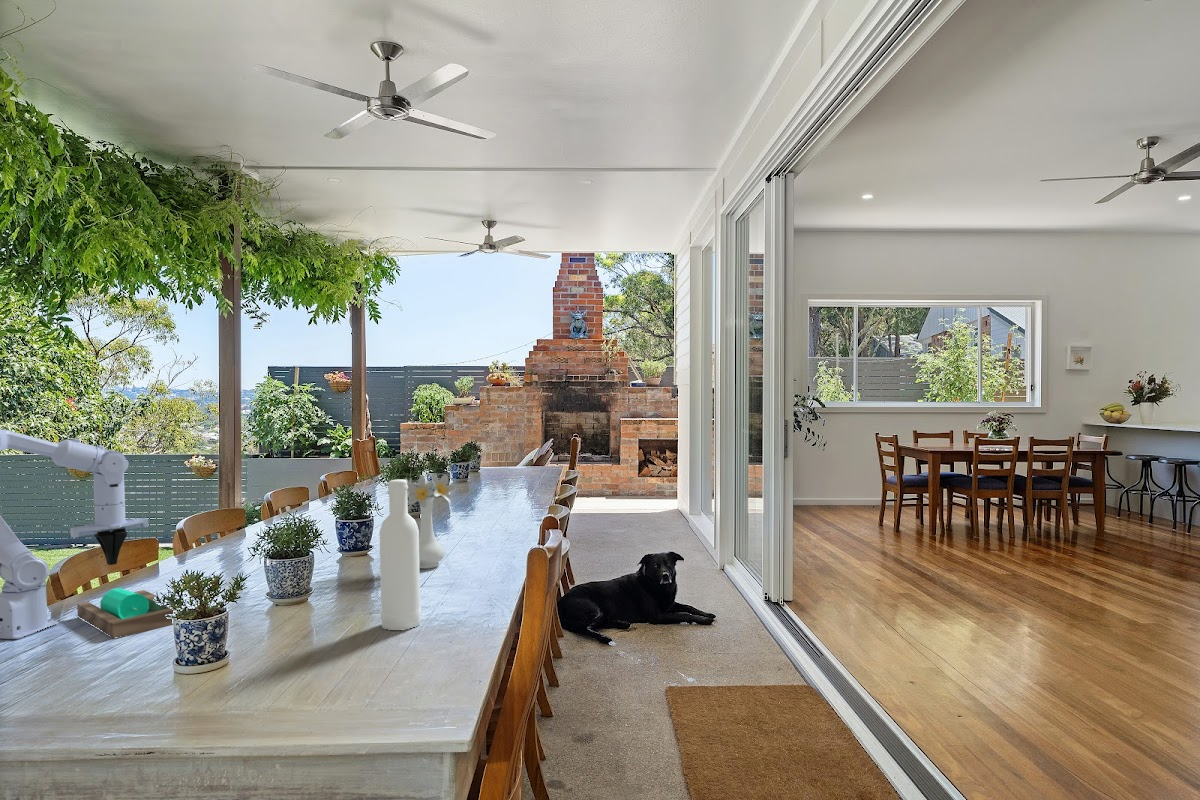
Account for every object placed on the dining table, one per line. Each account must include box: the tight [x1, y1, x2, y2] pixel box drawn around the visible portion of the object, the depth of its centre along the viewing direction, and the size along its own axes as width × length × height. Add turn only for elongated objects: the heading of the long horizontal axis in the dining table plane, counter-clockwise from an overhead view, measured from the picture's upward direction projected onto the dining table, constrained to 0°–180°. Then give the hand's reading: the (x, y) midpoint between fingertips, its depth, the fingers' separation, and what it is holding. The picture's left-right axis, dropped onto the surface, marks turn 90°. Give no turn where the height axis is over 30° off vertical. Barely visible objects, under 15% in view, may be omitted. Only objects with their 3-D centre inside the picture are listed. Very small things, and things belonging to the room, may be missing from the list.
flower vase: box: [387, 473, 458, 570], centre depth 198 cm, size 13×18×25 cm
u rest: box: [76, 589, 173, 639], centre depth 157 cm, size 22×13×3 cm, turn 51°
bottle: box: [379, 478, 422, 631], centre depth 151 cm, size 8×8×30 cm
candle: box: [100, 587, 149, 619], centre depth 157 cm, size 6×6×12 cm
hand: (111, 563), depth 164 cm, fingers closed
